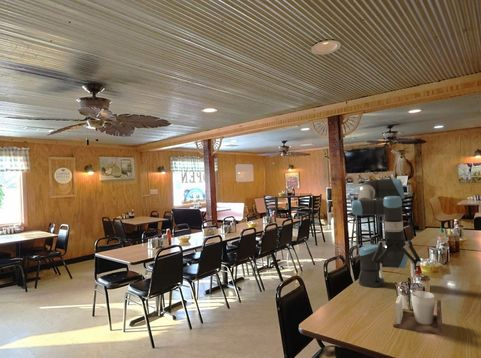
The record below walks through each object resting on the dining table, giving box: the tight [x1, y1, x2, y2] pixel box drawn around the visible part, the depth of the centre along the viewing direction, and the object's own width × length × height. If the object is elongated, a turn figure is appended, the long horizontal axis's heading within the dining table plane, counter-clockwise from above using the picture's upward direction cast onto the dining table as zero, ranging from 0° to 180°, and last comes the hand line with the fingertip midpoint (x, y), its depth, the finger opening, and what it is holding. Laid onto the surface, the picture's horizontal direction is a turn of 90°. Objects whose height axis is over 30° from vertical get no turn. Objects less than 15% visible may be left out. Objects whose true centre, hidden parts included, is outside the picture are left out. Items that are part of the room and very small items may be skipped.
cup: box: [410, 290, 436, 325], centre depth 143 cm, size 9×9×12 cm
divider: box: [394, 295, 404, 324], centre depth 147 cm, size 2×11×9 cm, turn 147°
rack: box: [392, 299, 443, 336], centre depth 143 cm, size 18×13×10 cm
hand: (396, 277), depth 147 cm, fingers open, 13 cm apart
